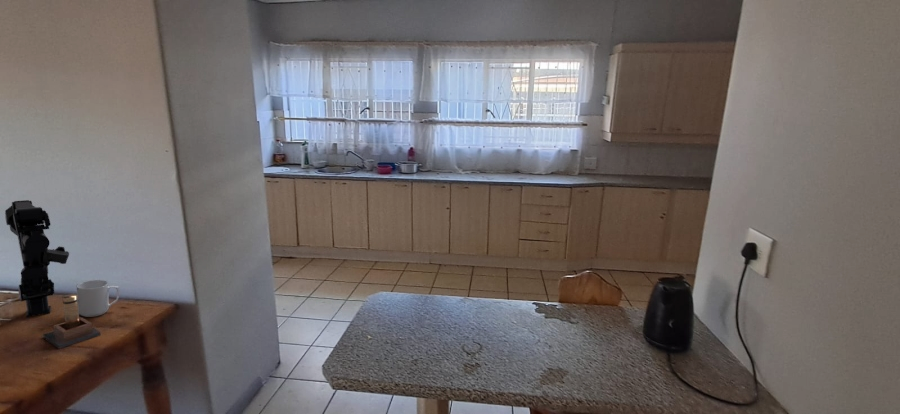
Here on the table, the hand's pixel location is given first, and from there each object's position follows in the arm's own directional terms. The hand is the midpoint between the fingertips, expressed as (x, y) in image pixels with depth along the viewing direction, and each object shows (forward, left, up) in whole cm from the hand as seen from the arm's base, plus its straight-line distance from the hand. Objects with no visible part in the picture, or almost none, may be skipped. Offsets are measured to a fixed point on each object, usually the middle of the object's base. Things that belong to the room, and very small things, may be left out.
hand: (39, 288), depth 147 cm
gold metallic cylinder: (+15, +8, -12) cm, 21 cm away
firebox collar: (+15, +8, -13) cm, 21 cm away
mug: (-1, +15, -13) cm, 20 cm away
